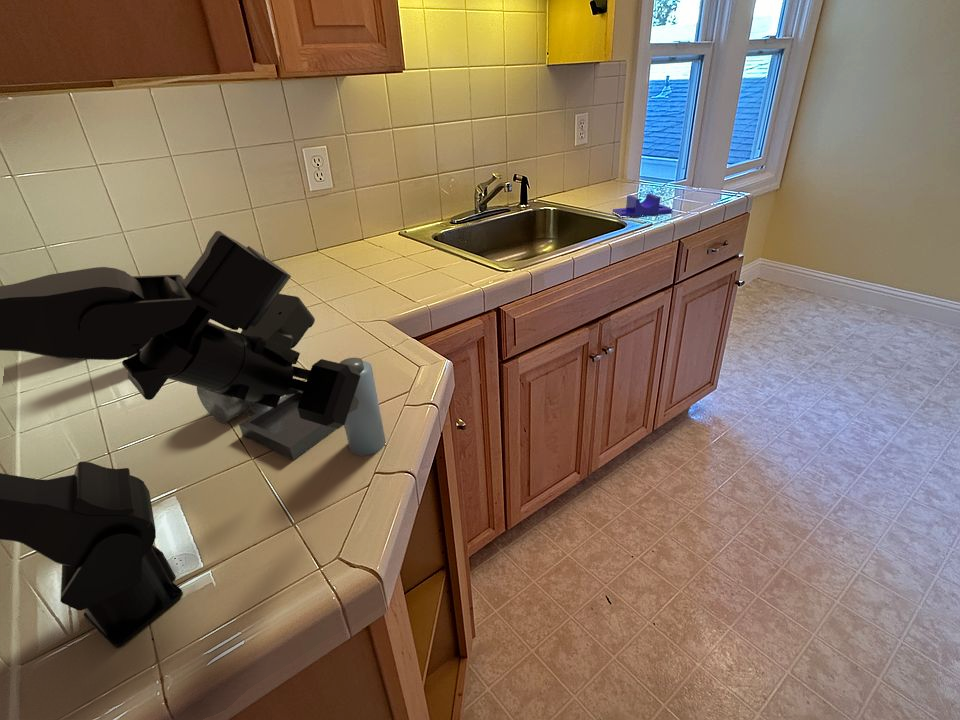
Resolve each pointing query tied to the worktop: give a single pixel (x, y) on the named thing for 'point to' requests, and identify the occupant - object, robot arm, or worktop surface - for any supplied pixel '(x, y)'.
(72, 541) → the robot arm
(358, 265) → the worktop surface
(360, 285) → the worktop surface
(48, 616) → the worktop surface
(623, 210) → the mounting bracket
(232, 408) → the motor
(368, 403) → the blue-grey capped bottle
